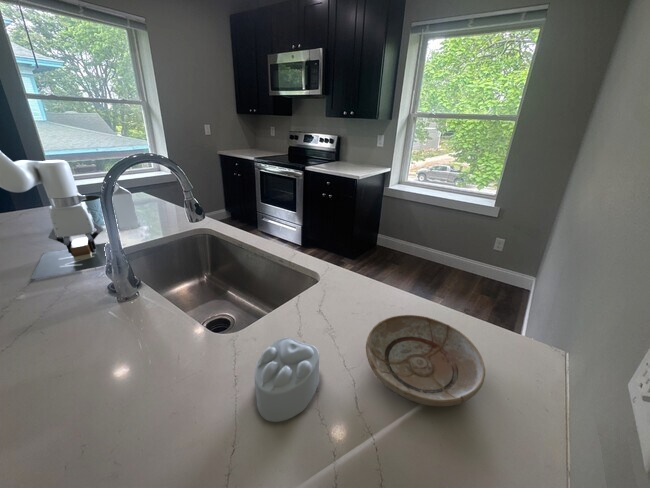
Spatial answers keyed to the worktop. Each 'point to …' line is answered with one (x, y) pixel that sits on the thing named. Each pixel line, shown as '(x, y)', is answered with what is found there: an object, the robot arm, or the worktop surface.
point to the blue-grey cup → (94, 208)
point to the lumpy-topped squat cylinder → (286, 379)
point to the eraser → (80, 248)
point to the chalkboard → (68, 262)
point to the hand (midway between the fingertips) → (83, 252)
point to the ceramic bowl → (425, 360)
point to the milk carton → (124, 208)
